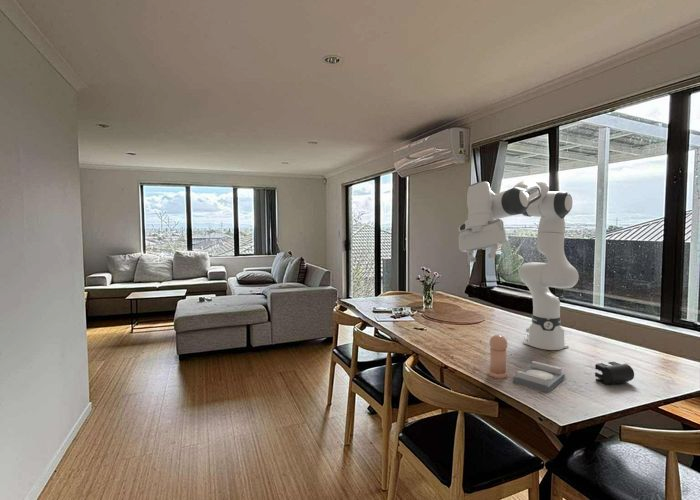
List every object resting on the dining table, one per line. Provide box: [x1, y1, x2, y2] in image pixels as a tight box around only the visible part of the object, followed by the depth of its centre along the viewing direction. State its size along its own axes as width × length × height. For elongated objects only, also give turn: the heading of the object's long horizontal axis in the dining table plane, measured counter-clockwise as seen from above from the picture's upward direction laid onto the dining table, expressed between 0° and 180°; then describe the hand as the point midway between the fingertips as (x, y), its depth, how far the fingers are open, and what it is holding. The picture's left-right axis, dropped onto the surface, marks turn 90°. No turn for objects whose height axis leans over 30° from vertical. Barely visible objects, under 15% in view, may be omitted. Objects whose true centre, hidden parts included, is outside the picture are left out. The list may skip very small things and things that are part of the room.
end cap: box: [594, 361, 635, 386], centre depth 133 cm, size 10×7×7 cm
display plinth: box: [512, 360, 566, 393], centre depth 135 cm, size 16×12×4 cm
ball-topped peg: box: [487, 334, 509, 380], centre depth 140 cm, size 7×7×15 cm
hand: (481, 260), depth 136 cm, fingers open, 8 cm apart
